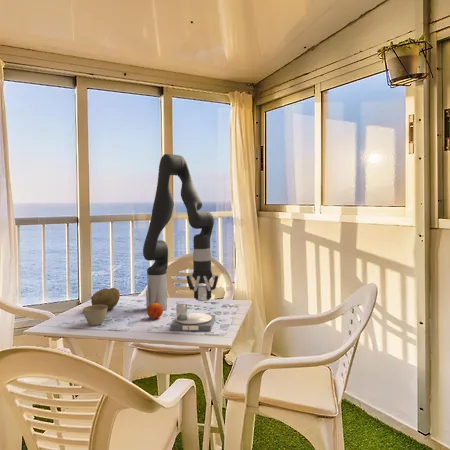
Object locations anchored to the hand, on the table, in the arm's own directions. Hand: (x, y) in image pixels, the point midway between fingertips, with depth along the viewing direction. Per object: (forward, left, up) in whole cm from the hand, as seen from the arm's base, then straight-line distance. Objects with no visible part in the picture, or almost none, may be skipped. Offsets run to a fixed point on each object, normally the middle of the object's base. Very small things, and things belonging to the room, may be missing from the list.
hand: (202, 299), depth 173 cm
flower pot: (-46, -3, -11) cm, 47 cm away
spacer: (0, 0, 0) cm, 0 cm away
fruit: (-23, +7, -11) cm, 26 cm away
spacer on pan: (-8, -5, -7) cm, 12 cm away
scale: (-4, -2, -10) cm, 11 cm away
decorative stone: (-51, +21, -11) cm, 56 cm away
